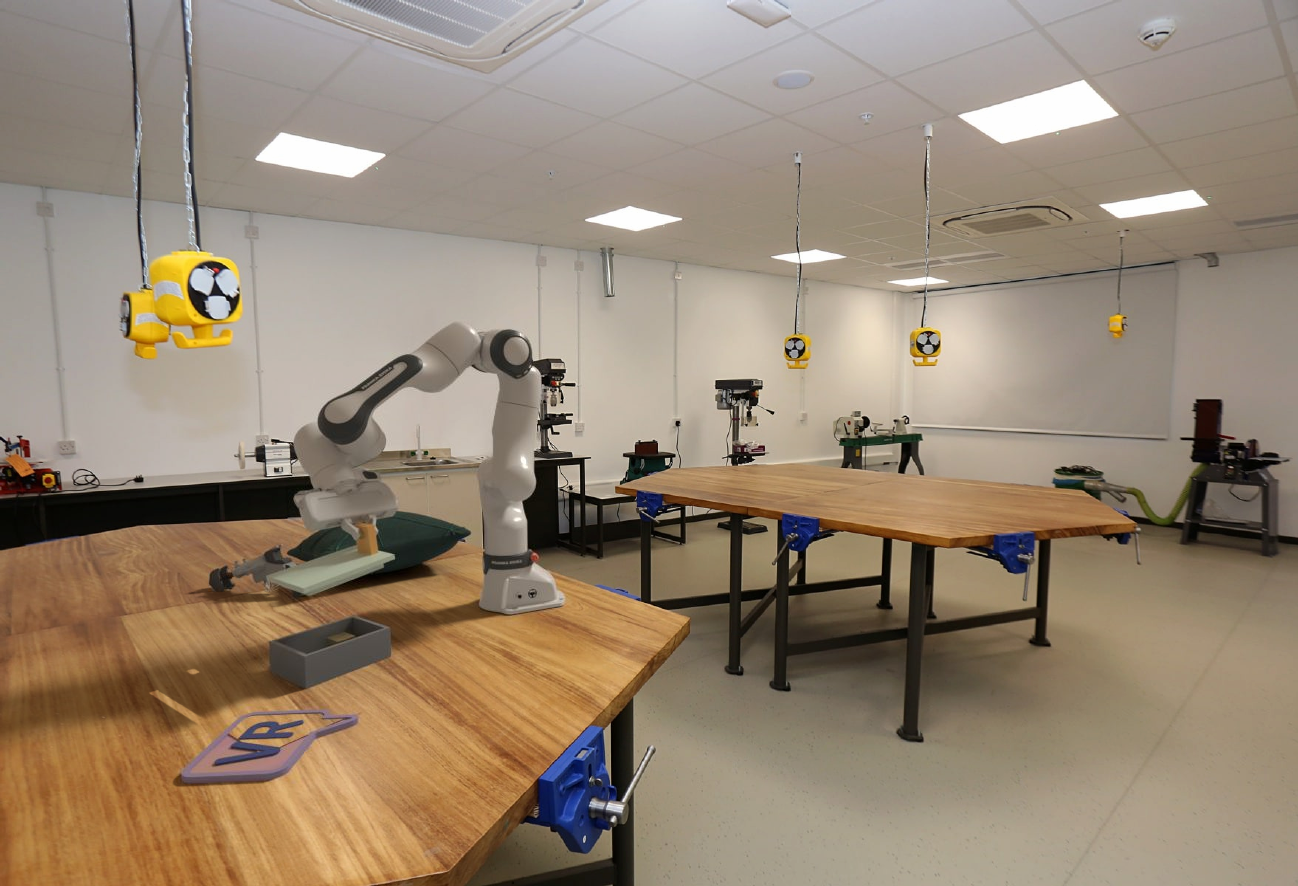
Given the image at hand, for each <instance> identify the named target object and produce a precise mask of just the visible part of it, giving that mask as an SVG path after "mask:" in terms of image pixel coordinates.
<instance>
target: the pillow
mask: <svg viewBox="0 0 1298 886" xmlns="http://www.w3.org/2000/svg"><path fill="white" fill-rule="evenodd" d="M362 523H365V522H362ZM354 524H357V523H354ZM354 524H352V525H353V526H354ZM375 526H376V528H377V529H378V534H377V535H376V539H377V546H378V551H382V552H386V553H390V554H394V556H395V559H394V560H391V561H388V562H386V563H383V565H384V568H381V569H378V570H376V571H373V572H371V573H368V574H365V575H364V576H366V575H375V574H376V575H377V574H384V573H388V572H394V571H399V570H403V569H406V568H410V567H414V566H416V565H420V564H424V563H425V562H428V561H430V560H432V559H435V558H437V557H439V556H441V555H443V554H445V553H447V552H449V551H450V550H451V549H453V548H454V547H455V546H456V545H457V544H458V542H459V541H462V540H463V539H465V538H467V537H469V536H471V534H472V531H471V530H469V529H468V528H467V527H465V526H459V525H458V524H454V523H451V522H448V521H446V520H443V519H441V518H437V517H432V516H429V515H425V514H420V513H416V512H411V511H403V510H402V511H399V510H397V511H396V513H395V514H394V515H393V516H392V517H386V518H381V519H376V525H375ZM355 545H357V543H356V540H354V538H353V537H352V535H351V534H349V533H347V532H346V531H344V530H343V529H342V528H341V526H338V527H333V528H328V529H322V530H317V531H314V533H312V534H310V535H309V536H308V537H307V538H305V539H304V538H303V540H302V541H301V542H300V543H299V544H298V545H296V546H295V547H294V548H291V549H289V550H288V551H287V552H286V555H288V556H290V557H291V558H292V557H293V558H295V559H297V560H300V561H302V562H304V563H305V562H308V561H311V560H314V559H317V558H320V557H322V556H325V555H328V554H331V553H334V552H337V551H340V550H343V549H346V548H349V547H352V546H355Z"/></svg>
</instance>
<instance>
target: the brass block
mask: <svg viewBox="0 0 1298 886" xmlns="http://www.w3.org/2000/svg"><path fill="white" fill-rule="evenodd" d="M353 638H356V637H355V636H354V635H352V634H349V633H346V632H343V633H340V634H337V635H333V636H330V637H327V638H326V640H327V647H330V646H333V645H336V644H338V643H341V642H344V641H347V640H350V639H353Z"/></svg>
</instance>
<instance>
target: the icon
mask: <svg viewBox="0 0 1298 886" xmlns="http://www.w3.org/2000/svg"><path fill="white" fill-rule="evenodd" d="M304 714H305V715H306V714H323V716H322V718H321V720H332V719H333V720H334V719H335V720H336V719H339V720H337V721H335V722H333V723H331V724H329V725H327V726H324V727H322V728H318V729H316V730H312V731H310V732H309V733H308V734H305V735H304V736H302V737H299V738H297V739H295V740H292V741H290V742H288V743H285V744H283V745H281V746H273V745H267V744H259V743H253V742H245V741H241V740H262V739H267V740H268V739H289V738H291V737H293V736H294V732H293V731H287V732H286V731H284V732H283V731H282V732H279V731H281V730H286V729H289V728H294V727H297V726H302V725H304V723H305V721H304V720H303V719H300V720H295V721H291V722H287V723H282V724H280V723H279V722H278V721H270V720H269V721H262V722H257V723H256V724H255V723H254V724H253V725H251V726H250V727H249V728H247V729H246V730H245V731H244V732H243V733H242V734H241V735H240V736H239V737H238V738H236V737H235V736H233V735H232V734H230V732H231V731H233V730H234V729H235V728H236V727H237V726H238V725H239V724H240V723H241V722H243V721H244V720H245V719H248V717H252V716H271V715H272V716H274V715H275V716H277V715H304ZM359 722H360V721H359V715H358V714H355V713H354V714H353V713H350V714H331V712H330V710H327V709H302V710H301V709H299V710H272V711H271V710H268V711H252V712H249V713H246V714H243V715H241V716H239V717H238V718H237V719H235V721H233V723H232V724H230V725H229V726H228V727H227V728H225V730H224V731H222V732H221V734H219V735H218V736H217V737H216V738H215V739H214V740H213V741H212V742H211V743H210V744H208V745H207V746H206V748H204V749H203V750H202V751H201V752H199V754H198V755H196V757H194V759H192V760H191V761H190V762H189V763H188V764H187V765H185V767H184V768H182V770H181V773H180V774H181V775H180V778H181V781H182V782H183V783H184V784H206V783H207V784H210V783H211V784H213V783H230V782H233V783H234V782H236V783H237V782H257V781H260V782H261V781H272V780H276V779H278V778H280V777H283V776H285V775H287V774H288V773H289V772H290V771H291V770H292V768H294V766H295V765H296V764H297V762H298V761H299V760H300V759H301V757H302V756H303V755H304V754H305V753H306V751H307V750H308V749H309V748H310V746H311V745H312V744H313V743H314V741H315V740H317V739H319V738H322V737H325V736H327V735H331V734H335V733H337V732H340V731H343V730H346V729H350V728H351V727H352V728H353V727H354V726H357V725H358V724H359ZM266 727H267V728H269V729H268V730H267V731H266V732H263V733H262V732H260V733H259V732H258V733H257V732H256V733H255V731H256V730H258V729H260V728H266ZM277 731H278V732H277Z"/></svg>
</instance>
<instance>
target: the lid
mask: <svg viewBox="0 0 1298 886" xmlns="http://www.w3.org/2000/svg"><path fill="white" fill-rule="evenodd" d="M354 526H355V527H356V528H357V529H358V528H361V529H362V532H364V537H362V539H359V540H356V543H357V545H355V546H352V547H349V548H346V549H343V550H340V551H337V552H334V553H331V554H328V555H325V556H322V557H320V558H317V559H314V560H311V561H308V562H305V561H304V562H302V563H300V564H296V566H293V567H290V568H287V569H285V570H282V571H279V572H276V573H273V574H270V575H267V576H266V579H267V581H268V582H269V583H270V582H271V584H272V583H273V584H274V583H275V585H277V584H278V585H280V586H281V587H282V588H285V589H288V590H290V591H292V590H294V591H297V592H300V593H303V594H305V595H306V596H308V597H311V596H313V595H316V594H318V593H321V592H323V591H326V590H328V589H331V588H334V587H337V586H340V585H342V584H344V583H347V582H349V581H352V580H355V579H358V578H360V577H363V576H366V575H369V574H368V573H371V572H373V571H376V570H378V569H381V568H384V565H383V563H386V562H388V561H391V560H394V559H395V556H394V554H390V553H386V552H382V551H378V546H377V539H376V533H375V526H374V525H372V524H367V523H362V522H360V523H357V524H354ZM365 574H366V575H365Z"/></svg>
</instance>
